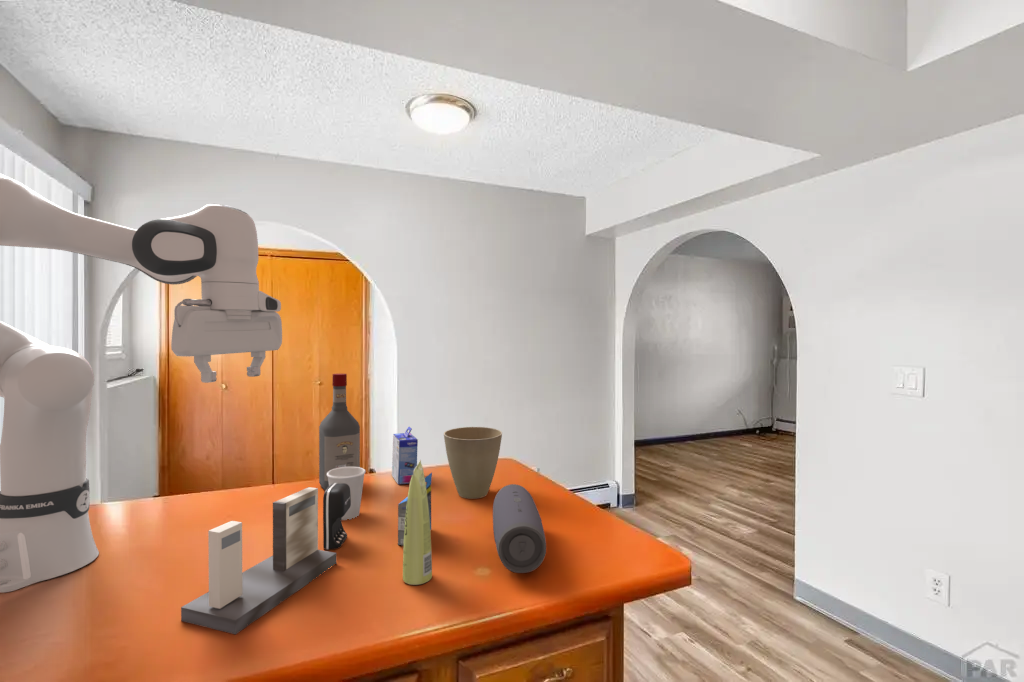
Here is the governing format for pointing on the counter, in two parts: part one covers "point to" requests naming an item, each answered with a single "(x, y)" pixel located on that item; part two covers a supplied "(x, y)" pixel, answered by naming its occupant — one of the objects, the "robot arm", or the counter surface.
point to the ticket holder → (272, 568)
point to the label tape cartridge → (402, 510)
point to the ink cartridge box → (404, 456)
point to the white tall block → (225, 563)
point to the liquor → (338, 434)
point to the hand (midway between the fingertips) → (232, 379)
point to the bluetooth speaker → (518, 529)
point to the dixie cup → (355, 482)
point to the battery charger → (335, 514)
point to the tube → (417, 532)
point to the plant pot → (472, 458)
